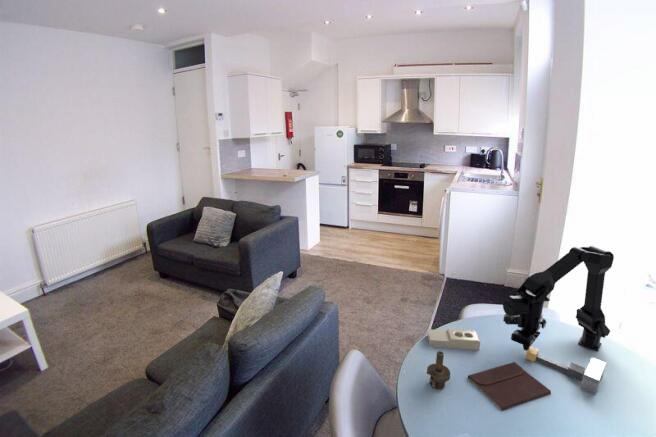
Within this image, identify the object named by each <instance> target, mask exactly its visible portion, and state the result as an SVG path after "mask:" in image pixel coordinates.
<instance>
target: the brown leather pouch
mask: <svg viewBox="0 0 656 437" xmlns="http://www.w3.org/2000/svg"><path fill="white" fill-rule="evenodd" d="M467 379H468V380H469V381H470V382H471V383H472V384H474V386H475V387H477V388H478V389H479V391H481V392H482V393H483V394H484V396H486V397H487V398H488V399H489V400H490V401H491V402H492V403H494V404H495V406H497V407H498V408H499V410H501V412H502V411H506V410H508V409H509V410H510V409H512V408H515V407H518V406H520V405H523V404H527V403H529V402H531V401H535V400H537V399H541V398H543V397H545V396H550V395H551V394H552V390H551V389H549V388H548V387H547V386H546V385H545V384H543V383H542V382H540V381H539V380H538V379H537V378H535V377H534V376H533V375H531V374H530V373H528V372H527V371H526V370H525V369H523V367H522V366H521V365H519V364H518V363H517V362H515V361H512V362H509V363H507V364H504V365H499V366H495V367H492V368H489V369H486V370H481V371H479V372H476V373H472V374H469V375H468V376H467Z"/></svg>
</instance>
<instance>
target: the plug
mask: <svg viewBox="0 0 656 437" xmlns="http://www.w3.org/2000/svg"><path fill="white" fill-rule="evenodd" d="M525 352H526V353H525V360H529V361H531V362H533V363H535V362H539V363H541V364H543V365H546V366H548V367H551V368H552V369H555V370H558V371H560V372H562V373H564V374H566V377H570V378H572V379H575V380H577V381H578V382H581V381H582V380H583V376H584V373H585V371H586V367H585V366H583V365H582V366H581V365H579V364H577V363H574V362H572V361H571V362H570V364H569V366H567V365H565V364H562V363H559V362H557V361H554V360H552V359H549V358H548V357H545V356H543V355H539V354H540V349H538V348H536V347H533V346H532V345H531V346H530V347H529V349H528V350H527V351H525Z"/></svg>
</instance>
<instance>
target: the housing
mask: <svg viewBox="0 0 656 437" xmlns="http://www.w3.org/2000/svg"><path fill="white" fill-rule="evenodd" d="M606 366H607V362H606V361H603V360H601V359H597V358H596V357H594V356H593V357H591V358H590V360H589V362H588V365H587V367H586V368H585V370H584V375H583V377H582V380H581V381H582V382H581V385H580V390H582V391H585V392H587V393H590V394H592V395H594V396H597V395H596V394H597V393H598V390H599V384H600V382H602V379H603V376H604V375H605V374H604V372H605V368H606Z"/></svg>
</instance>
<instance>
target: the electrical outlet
mask: <svg viewBox="0 0 656 437" xmlns="http://www.w3.org/2000/svg"><path fill="white" fill-rule="evenodd" d="M427 338H428V339H427V341H428V343H429V347H434V348H435V347H437V348H445V349H446V348H447V349H448V348H449V349H460V350H461V349H462V350H472V351H479V350H480V348H481V341H480V340H481V339H480V338H479V336H478V333H477V332H476V330H471V329H470V330H467V329H454V328H448V329H447V330H444V329H443V330H442V329H430V328H429V329H427Z"/></svg>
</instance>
